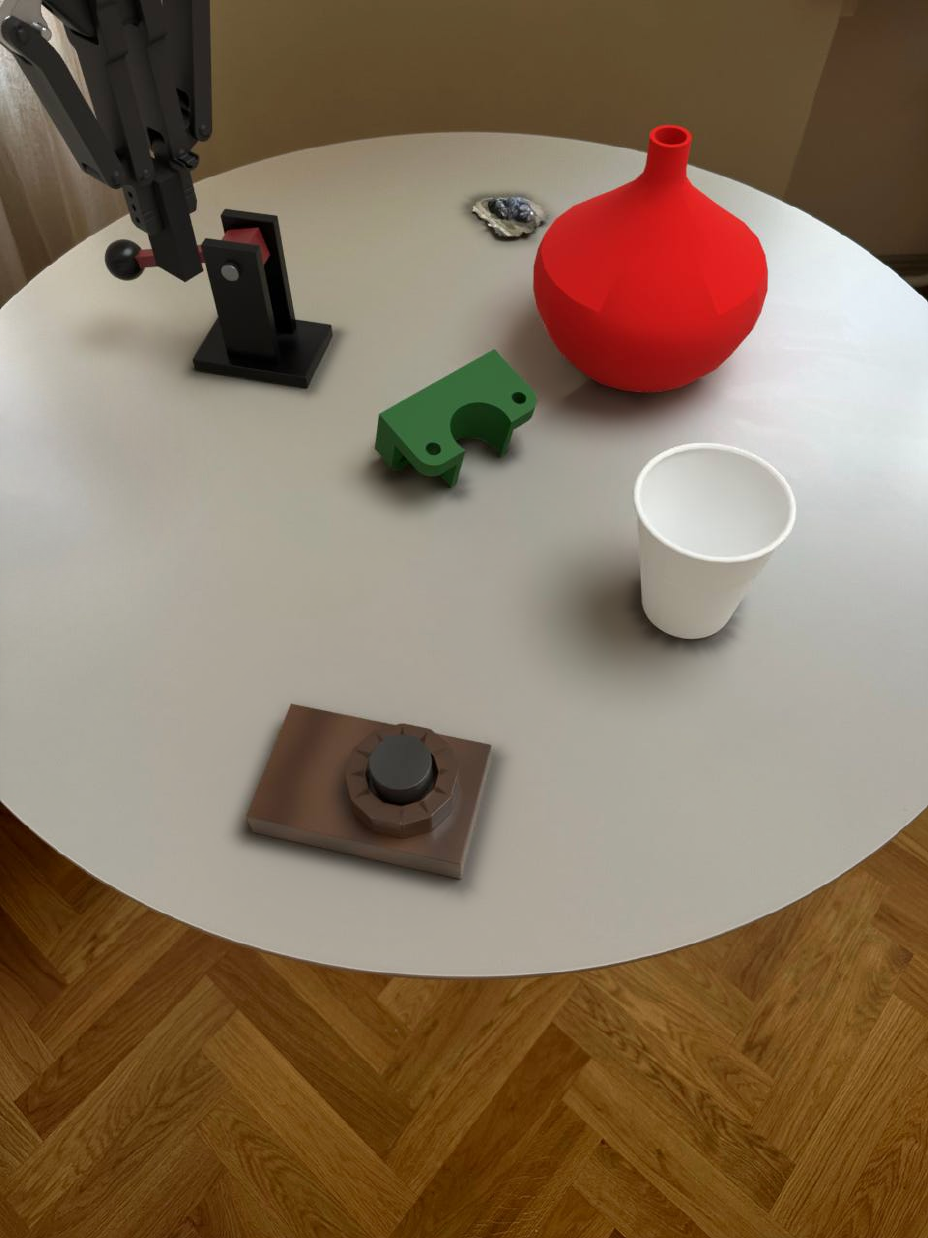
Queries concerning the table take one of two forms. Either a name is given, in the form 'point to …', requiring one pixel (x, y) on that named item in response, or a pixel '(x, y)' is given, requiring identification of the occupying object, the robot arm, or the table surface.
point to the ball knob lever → (132, 260)
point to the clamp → (455, 417)
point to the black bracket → (256, 310)
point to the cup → (706, 533)
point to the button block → (368, 793)
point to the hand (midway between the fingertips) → (179, 267)
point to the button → (401, 768)
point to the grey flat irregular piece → (510, 214)
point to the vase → (650, 277)
